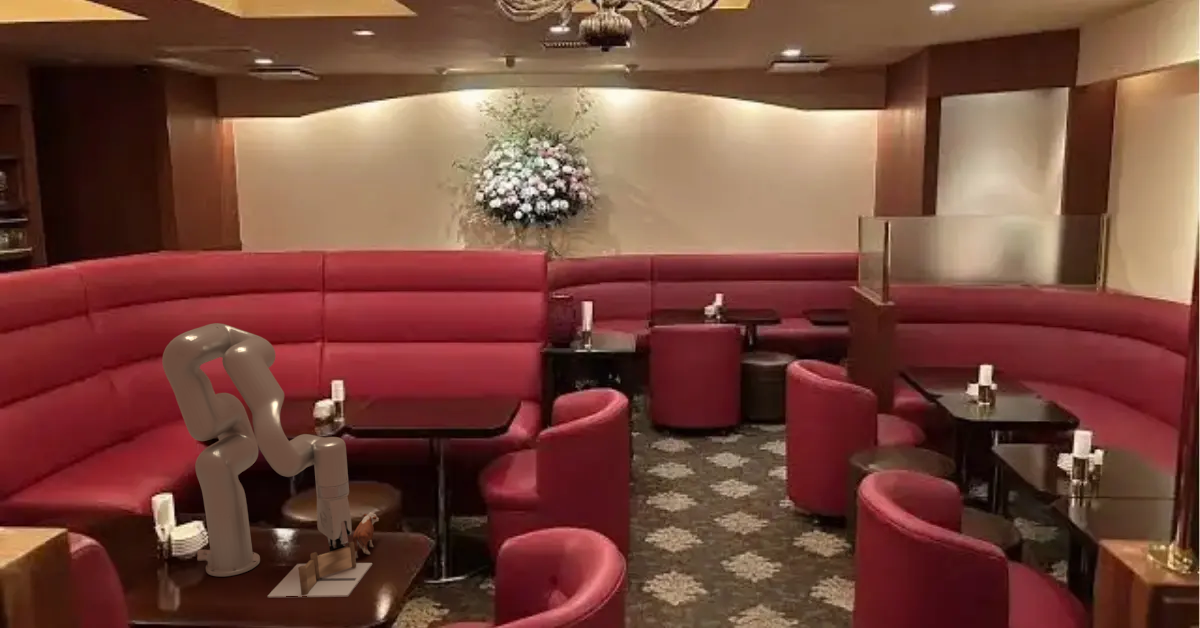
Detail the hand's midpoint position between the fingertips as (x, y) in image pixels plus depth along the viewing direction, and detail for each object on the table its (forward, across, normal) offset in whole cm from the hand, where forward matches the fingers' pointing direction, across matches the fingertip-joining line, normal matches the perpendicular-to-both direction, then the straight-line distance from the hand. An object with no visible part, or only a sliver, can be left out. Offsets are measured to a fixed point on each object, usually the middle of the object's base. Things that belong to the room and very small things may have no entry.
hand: (338, 560), depth 230 cm
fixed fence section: (+2, +6, -10) cm, 12 cm away
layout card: (+2, +3, -6) cm, 7 cm away
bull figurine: (+2, -6, +10) cm, 12 cm away
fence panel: (+1, +3, -2) cm, 4 cm away
